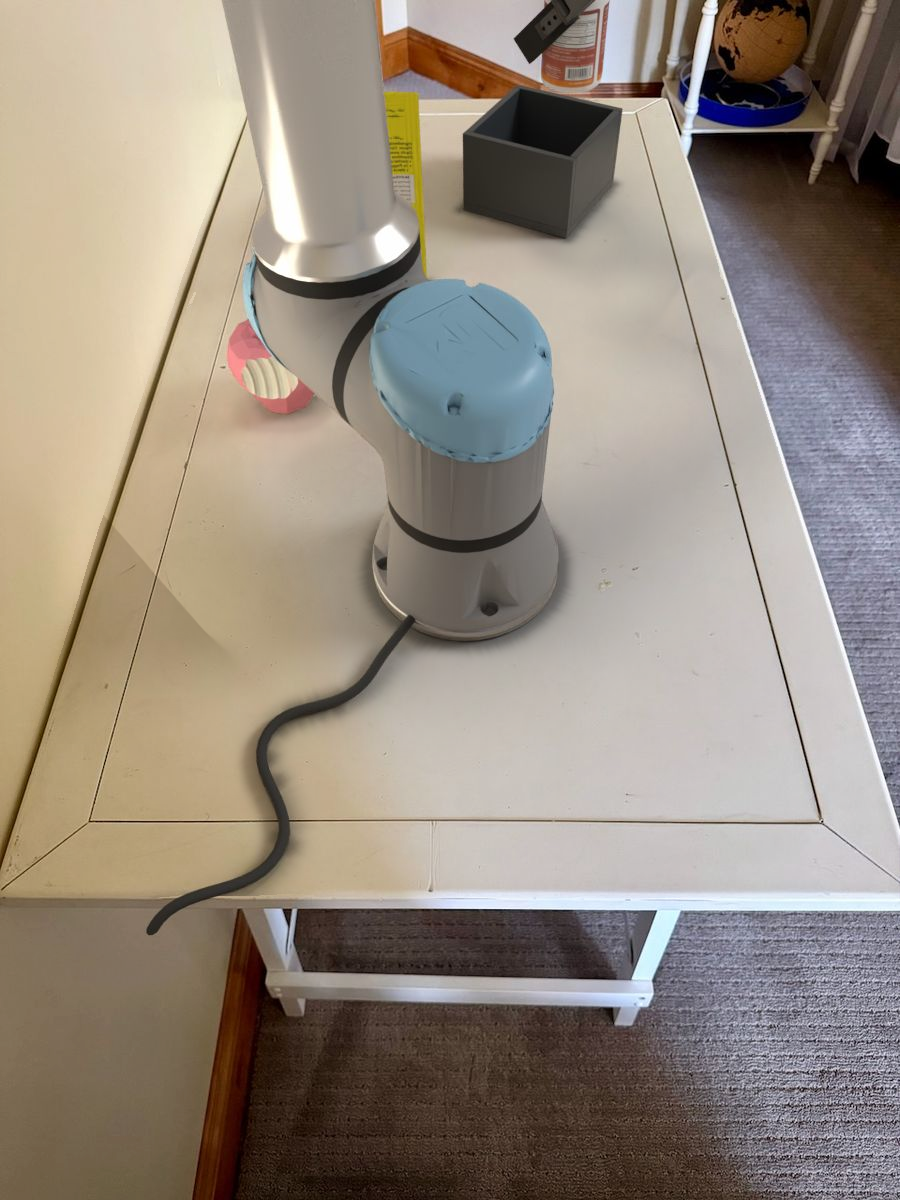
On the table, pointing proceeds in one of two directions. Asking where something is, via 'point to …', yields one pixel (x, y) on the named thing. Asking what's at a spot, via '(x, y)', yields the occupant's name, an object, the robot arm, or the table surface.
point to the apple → (264, 373)
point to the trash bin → (540, 159)
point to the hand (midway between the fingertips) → (541, 37)
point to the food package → (406, 153)
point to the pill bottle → (577, 52)
